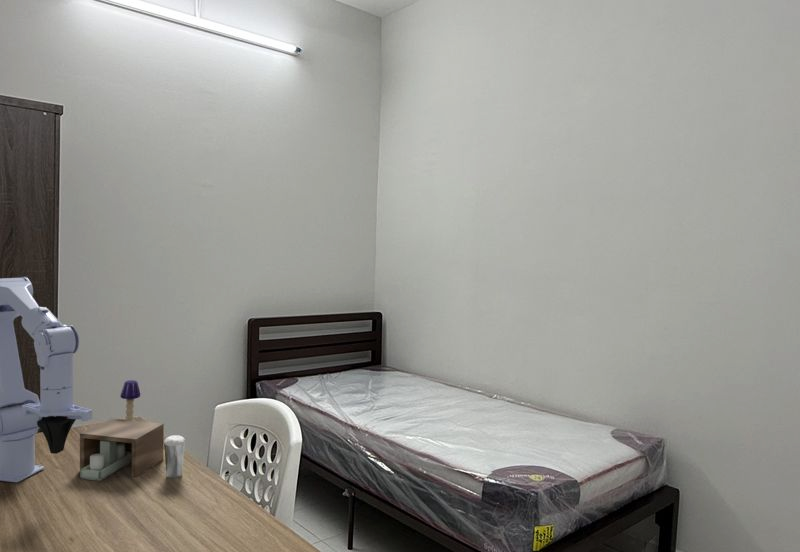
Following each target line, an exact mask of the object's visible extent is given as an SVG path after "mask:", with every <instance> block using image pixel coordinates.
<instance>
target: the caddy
mask: <svg viewBox="0 0 800 552" xmlns="http://www.w3.org/2000/svg"><path fill="white" fill-rule="evenodd" d="M131 463H132V452H128V451H125V442H116V441H107V440H101V441H100V453H97V454H93V455H91V456H90V464H89V465H88V466H86V467H84V468H82V469H80V468H79V478H80V479H81V480H90V481H91V480H92V481H98V482H101V481H102V480H104V479H106V478H108V477H110V476H111V475H112V474H114V473H115V472H117V471H119V470H120V469H122V468H124V467H125V466H128V464H131Z"/></svg>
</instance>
